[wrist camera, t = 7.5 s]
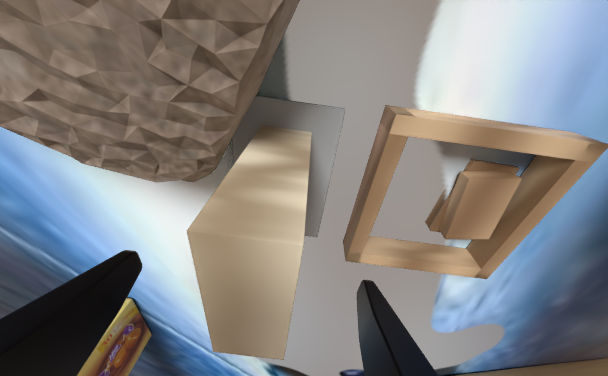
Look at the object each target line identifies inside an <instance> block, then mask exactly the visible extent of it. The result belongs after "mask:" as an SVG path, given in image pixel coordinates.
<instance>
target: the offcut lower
mask: <svg viewBox="0 0 608 376" xmlns="http://www.w3.org/2000/svg"><path fill="white" fill-rule="evenodd" d="M519 169H520V168H518V167H517V166H512V165H506V164H499V163H493V162H487V161H481V160H475V159H471V160H470V161H469V163H468V165H467V166H466V168H465V170H464V171H511V172H512V173H514V174H516V173H517V171H518V170H519ZM455 185H456V184H455ZM454 187H455V186H454ZM453 190H454V188H453V189H452V191H451V193H450V194H449V196H448V197H447V195H446V192H447V191H446V187H445V189H444V191H443V192H442V194H441V196H440V197H439V199H438V201H437V203H436V204H435V206H434V208H433V209H432V211H431V213H430V214H429V216H428V218H427V219H426V221H425V223H426V224H427V226H428V228H429V229H430V231H436V232H440V230H439V228H440V225H441V222H442V220H443V217H444V214H445V212H446V209H447V206H448V204H449V201H450V198H451V195H452V193H453ZM446 198H447V199H446Z"/></svg>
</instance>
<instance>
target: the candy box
mask: <svg viewBox="0 0 608 376" xmlns="http://www.w3.org/2000/svg"><path fill="white" fill-rule="evenodd" d="M151 335H152V334H151V332H150V330H149V328H148V327H147V325H146V323H145V321H144V319H143V318H142V316H141V314H140V312H139V310H138V308H137V307H136V305H135V303H134V302H133V300H132V299H130V298H126V300H125V302H124V304H123V306H122V307H121V309H120V311H119V312H118V314H117V315H116V317H115V319H114V320H113V322H112V323H111V325H110V326H109V328H108V329H107V331H106V332H105V334H104V335H103V337H102V338H101V340H100V341H99V343H98V345H97V346H96V348H95V349H94V351H93V352H92V354H91V355H90V357H89V358H88V360H87V361H86V363H85V364H84V366H83V367H82V369H81V370H80V372H79V374H78V375H77V376H128V374H129V373H130V371H131V369H132V368H133V366H134V364H135V362H136V361H137V359H138V357H139V356H140V354H141V352H142V351H143V349H144V347H145V345H146V344H147V342H148V340H149V339H150V337H151Z"/></svg>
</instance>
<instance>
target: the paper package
mask: <svg viewBox="0 0 608 376" xmlns="http://www.w3.org/2000/svg"><path fill="white" fill-rule="evenodd" d="M453 376H608V358H602V359H593V360H585V361H576V362H566V363H557V364H548V365H539V366H530V367H522V368H513V369H505V370H497V371H489V372H479V373H470V374H461V375H453Z"/></svg>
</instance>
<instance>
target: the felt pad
mask: <svg viewBox="0 0 608 376" xmlns="http://www.w3.org/2000/svg"><path fill="white" fill-rule="evenodd" d="M344 114H345V109H344V108H337V107H331V106H324V105H317V104H310V103H303V102H296V101H289V100H283V99H276V98H269V97H262V96H256V97H255V98H254V100H253V102H252V103H251V105H250V107H249V109H248V110H247V112H246V114H245V116H244V118H243V119H242V121H241V123H240V125H239V127H238V128H237V130H236V132H235V134H234V136H233V137H232V143H233V163H234V164H235V162H236V161H237V160H238V158H239V157H240V155H241V154H242V153H243V151H244V150H245V148H246V147H247V146H248V144H249V143H250V141H251V140H252V138H253V137H254V136H255V134H256V133H257V131H258V130H259V129H260V127H261V126H270V127H277V128H284V129H292V130H299V131H306V132H312V136H311V150H310V163H309V177H308V191H307V205H306V219H305V233H304V236H313V237H318V232H319V227H320V223H321V218H322V214H323V209H324V205H325V200H326V196H327V191H328V187H329V181H330V177H331V173H332V168H333V164H334V159H335V155H336V150H337V146H338V141H339V136H340V132H341V127H342V122H343V118H344Z"/></svg>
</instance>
